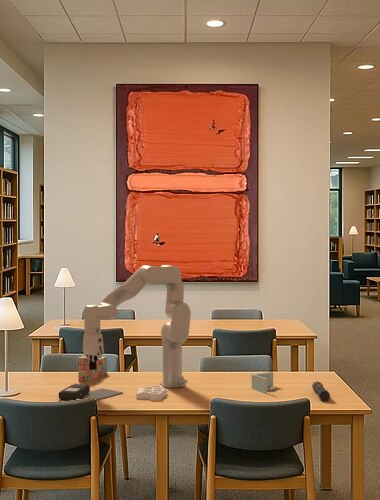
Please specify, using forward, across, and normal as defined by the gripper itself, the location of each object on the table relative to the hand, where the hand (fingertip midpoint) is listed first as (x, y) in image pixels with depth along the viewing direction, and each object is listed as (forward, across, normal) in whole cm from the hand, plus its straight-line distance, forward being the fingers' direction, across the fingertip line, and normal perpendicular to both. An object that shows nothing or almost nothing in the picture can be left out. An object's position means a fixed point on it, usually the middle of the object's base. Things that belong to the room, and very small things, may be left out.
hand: (93, 369), depth 353 cm
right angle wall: (+12, -62, -57) cm, 85 cm away
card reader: (+9, +5, +3) cm, 10 cm away
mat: (+12, -4, 0) cm, 12 cm away
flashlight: (+12, -88, -61) cm, 108 cm away
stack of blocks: (+12, +27, -26) cm, 40 cm away
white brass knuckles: (+12, -25, -14) cm, 31 cm away
